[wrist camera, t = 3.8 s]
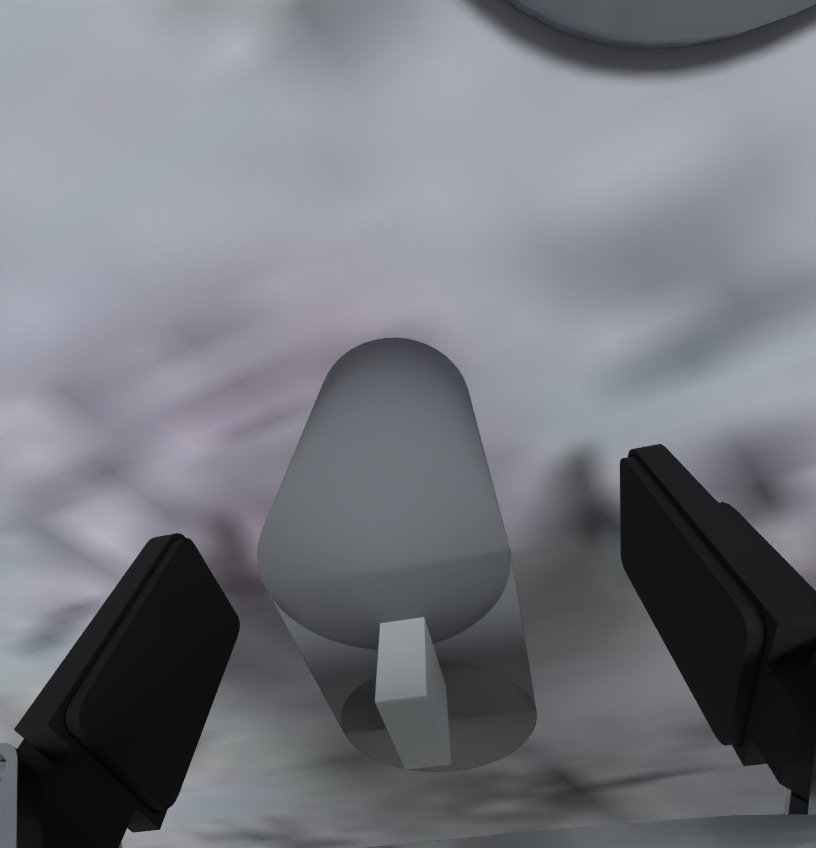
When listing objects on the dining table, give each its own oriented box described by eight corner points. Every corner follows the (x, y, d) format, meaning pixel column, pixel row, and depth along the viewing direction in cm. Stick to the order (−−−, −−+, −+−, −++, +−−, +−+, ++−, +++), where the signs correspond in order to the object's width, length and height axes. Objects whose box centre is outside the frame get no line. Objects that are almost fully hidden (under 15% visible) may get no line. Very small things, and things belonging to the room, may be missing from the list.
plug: (298, 356, 10) (171, 564, 5) (456, 321, 10) (511, 505, 4) (382, 587, 14) (364, 856, 8) (500, 569, 13) (561, 838, 8)
